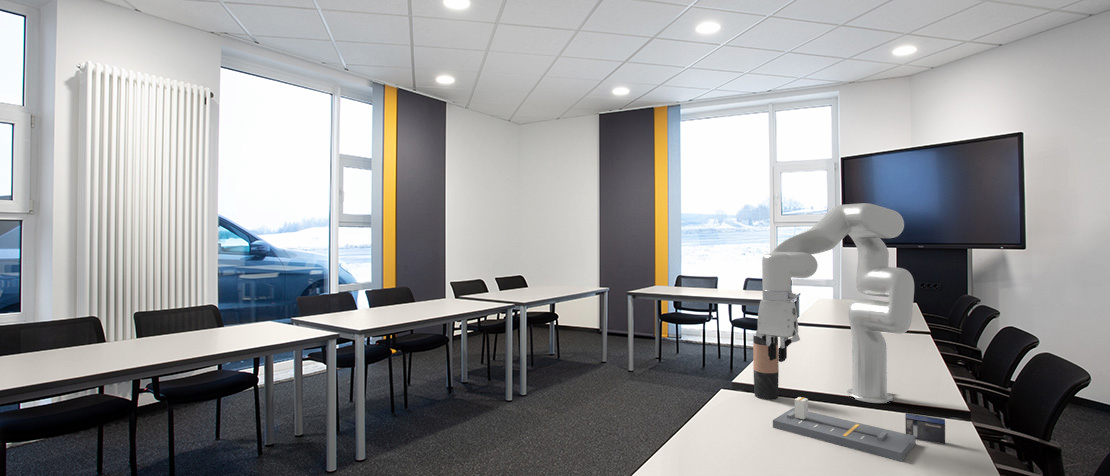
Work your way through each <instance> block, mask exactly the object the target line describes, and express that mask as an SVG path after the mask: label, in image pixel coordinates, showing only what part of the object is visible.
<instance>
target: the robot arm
mask: <svg viewBox="0 0 1110 476" xmlns="http://www.w3.org/2000/svg"><path fill="white" fill-rule="evenodd" d="M904 229H905V221H904V218H903V215H901V214H900V212H898V211H897V210H894V209H891V208H887V207H884V206H880V205H878V204H875V203H874V204H873V203H867V202H866V203H863V202H861V203H849V204H839V205H837V206H834V207H833V208H832V209H830V210H829V211H828V212H827V213H826V214H825V215H824V216H823V217H822V218H820V219H819V220H818V222H817V223H816V224H814V225H813V226H812V227H811V228H809V229H807V230H804V231H802V232H799V233H798V234H796V235H793V236H791V237H789V238H787V239H785V240H783V241H782V242H781V243H779V244H778V245H777V246H776V247H775V248H774V249H773V250H772V251H771V252H770V253H765V254H764V255H763V256H762V260H761V262H762V263H761V267H762V270H761V271H762V299H760V302H759V305H758V306H759V307H758V311H757V312H758V313H757V329H756V332H755V336H758V337H760V338H762V339H763V340H764V341H765V343H766V345H767V346H768V356H769V360H774V359H776V345H775V344H774V336H778V338H780V339H779V341H780V342H779V343H780V344H779V347H778V363H779V362H780V363H782V362H785V361H786V359H787V357H788V354H787V350H788V347H789V346H790V345H791V344H792V343H796V342H799V341H801V338H800V336H799V323H798V322H799V320H798V313H797V307H796V304H795V301H792V300H793V299H796V298H797V294H796V293H793V291H792V278H794V279H795V278H797V279H806V278H810V277H812V276H813V275H814V274H815V273H816V272H817V271H818V266H819V265H818V261H817V259H816V258H815V256H814V255H816V254H817V255H818V254H821V253H824V252H828V251H830V250H833V249H834V248H835V247H836V246H837V245H838V244H839V243H840V242H841V241H842V240H843V239H845V237H846V236H849V237H850V238H851V240H852V241H853V243H854V245H855V246H856V249H857V268H856V279H855V285H856V289H857V291H858V292H859V293H860V294H863V295H866V296H872V297H882V298H889V299H888V301H884V300H876V299H868V298H867V299H866V298H865V299H863V298H862V299H857V300H854V301H853V302H851V303H850V305H849V306H848V309H847V316H848V322H849V326H850V332H851V370H852V372H851V373H852V375H851V376H852V381H851V382H852V384H851V385H852V388H849V389H848V390H847V391H846V394H847V393H848V394H849V395H851V396H853V397H854V398H855V399H854V400H857V401H860V402H864V403H865V402H866V403H872V404H888V403H887V402H889V401H892V400H894V396H893V395H892V394H890V393H888V381H887V380H888V377H887V375H888V371H887V370H888V369H887V368H888V367H887V366H888V365H887V363H888V360H887V355H888V354H887V349H888V348H887V342H886V339H885V337H884V336H883V334H882V332H883V333H888V334H889V333H890V334H897V335H901V334H905V333H907V331H909V329H910V328H911V325H912V321H913V311H914V310H913V309H914V296H915V281H914V277H913V275H912V274H911V272H910V271H909V270H907V269H905V268H903V267H895V266H894V267H891V266H889V255H890V253H889V249H888V247H887V245H886V243H885V242H884V241H883V240H882V239H893V238H897V237H899V236H901V233H902V232H903V231H904ZM892 402H893V401H892ZM889 403H890V402H889Z"/></svg>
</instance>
